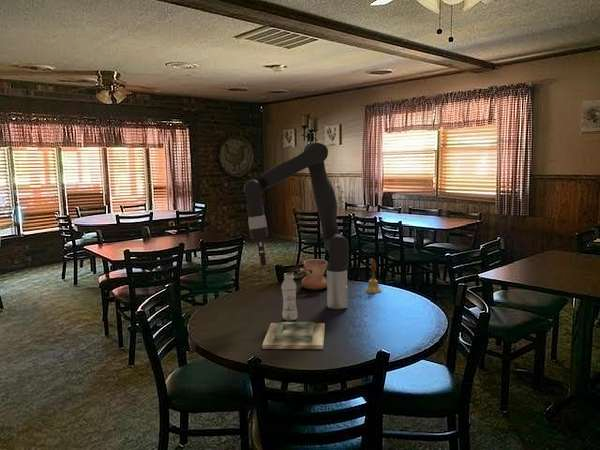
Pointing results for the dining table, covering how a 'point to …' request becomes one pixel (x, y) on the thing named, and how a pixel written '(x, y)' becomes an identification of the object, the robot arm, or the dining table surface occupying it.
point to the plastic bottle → (289, 298)
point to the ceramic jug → (314, 274)
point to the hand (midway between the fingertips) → (263, 264)
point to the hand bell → (373, 281)
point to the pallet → (294, 343)
